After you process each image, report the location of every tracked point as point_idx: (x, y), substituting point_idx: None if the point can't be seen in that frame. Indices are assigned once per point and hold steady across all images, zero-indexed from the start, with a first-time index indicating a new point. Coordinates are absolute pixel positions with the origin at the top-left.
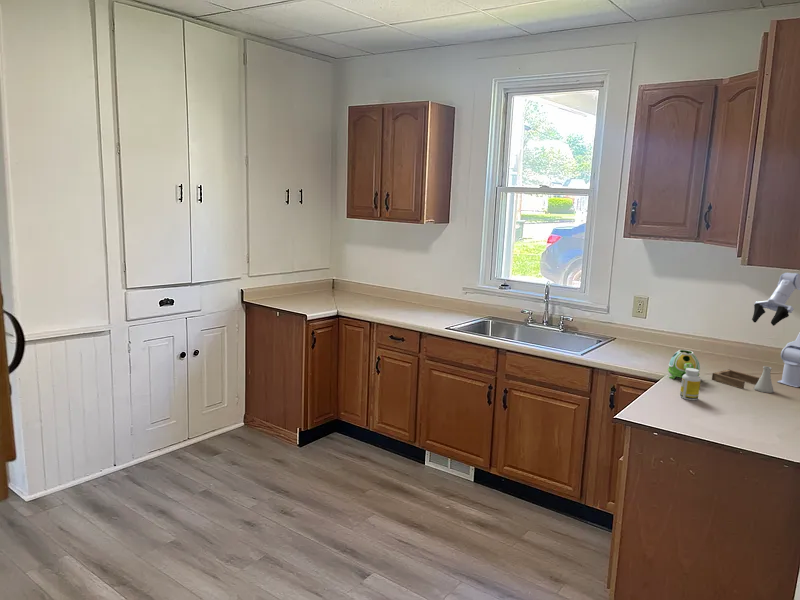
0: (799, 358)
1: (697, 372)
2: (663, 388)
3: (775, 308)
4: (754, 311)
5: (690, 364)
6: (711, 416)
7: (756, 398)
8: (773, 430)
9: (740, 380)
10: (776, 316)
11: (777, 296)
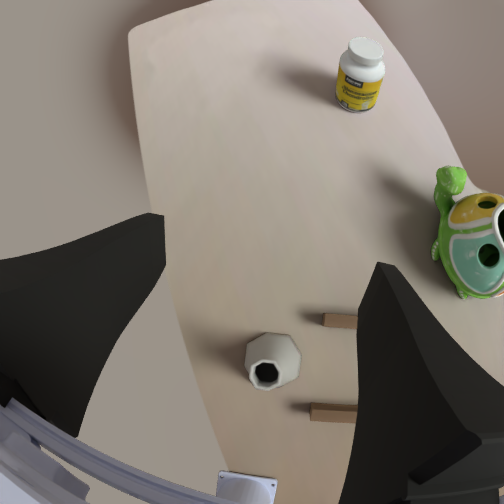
0: None
1: (348, 45)
2: (426, 117)
3: (101, 454)
4: (445, 333)
5: (449, 166)
6: (263, 48)
7: (254, 249)
8: (161, 79)
9: (337, 321)
10: (84, 237)
11: None
